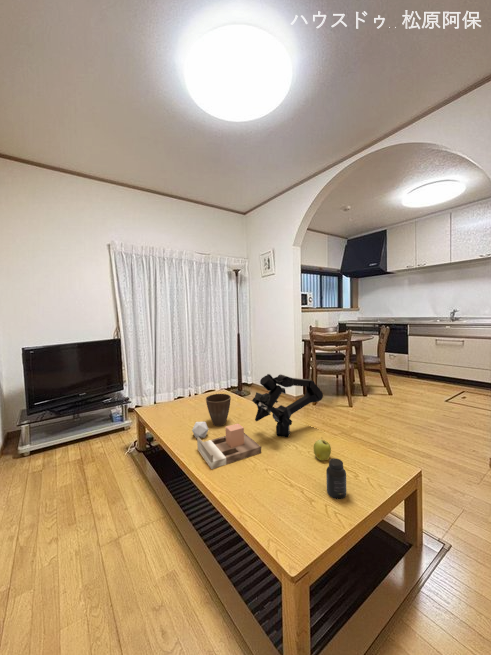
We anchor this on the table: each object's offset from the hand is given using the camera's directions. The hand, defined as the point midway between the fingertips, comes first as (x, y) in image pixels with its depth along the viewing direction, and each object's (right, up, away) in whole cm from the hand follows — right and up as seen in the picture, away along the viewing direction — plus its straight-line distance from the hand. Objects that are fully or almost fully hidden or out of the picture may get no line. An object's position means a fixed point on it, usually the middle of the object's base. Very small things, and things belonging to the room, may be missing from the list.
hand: (255, 420), depth 134 cm
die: (-30, -12, +9) cm, 33 cm away
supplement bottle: (+28, -13, -38) cm, 49 cm away
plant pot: (-21, -11, +25) cm, 35 cm away
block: (-10, -9, -5) cm, 15 cm away
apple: (+29, -12, -15) cm, 35 cm away
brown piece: (-13, -12, -6) cm, 19 cm away
